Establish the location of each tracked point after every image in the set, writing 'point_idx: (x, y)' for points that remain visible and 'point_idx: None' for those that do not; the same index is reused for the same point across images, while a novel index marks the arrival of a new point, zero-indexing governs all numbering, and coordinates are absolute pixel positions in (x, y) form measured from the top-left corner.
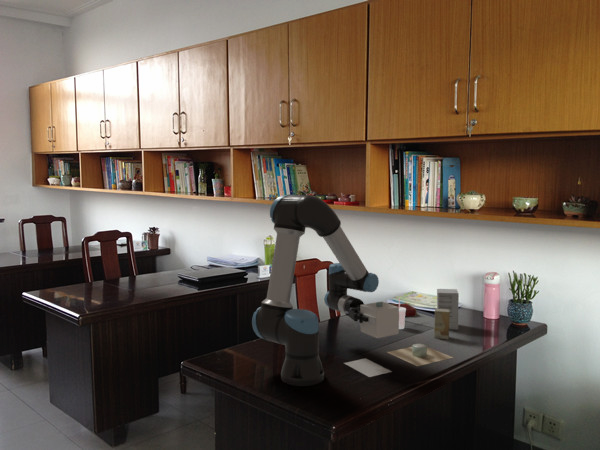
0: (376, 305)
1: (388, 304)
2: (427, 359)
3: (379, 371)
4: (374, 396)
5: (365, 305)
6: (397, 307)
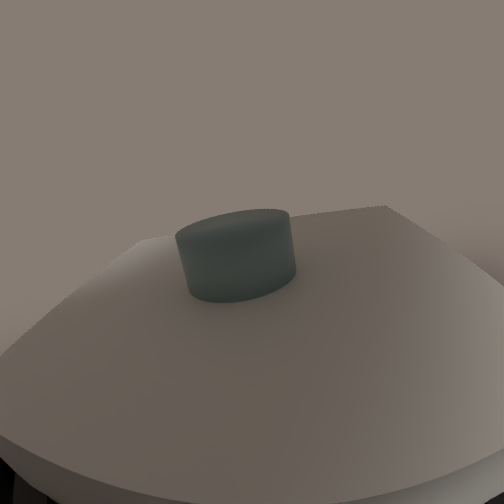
0: (294, 257)
1: (87, 292)
2: None
3: None
4: None
5: (492, 342)
6: (155, 238)
